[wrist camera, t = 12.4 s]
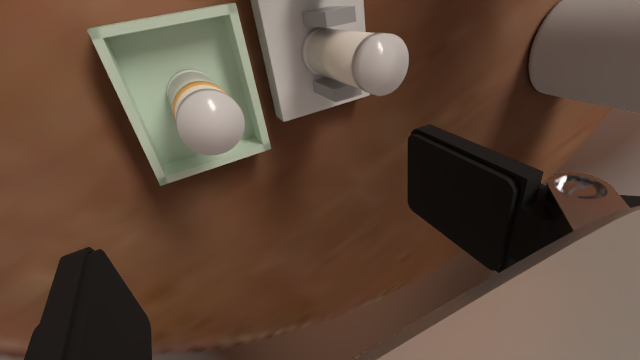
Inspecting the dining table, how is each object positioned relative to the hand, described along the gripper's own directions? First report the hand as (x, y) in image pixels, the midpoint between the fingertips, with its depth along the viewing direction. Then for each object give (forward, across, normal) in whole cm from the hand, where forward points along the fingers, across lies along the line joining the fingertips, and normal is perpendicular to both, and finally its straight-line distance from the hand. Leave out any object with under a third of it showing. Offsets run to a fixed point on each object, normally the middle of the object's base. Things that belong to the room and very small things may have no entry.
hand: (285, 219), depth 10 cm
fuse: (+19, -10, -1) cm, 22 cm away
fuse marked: (+20, 0, 0) cm, 20 cm away
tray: (+21, 0, 0) cm, 21 cm away
